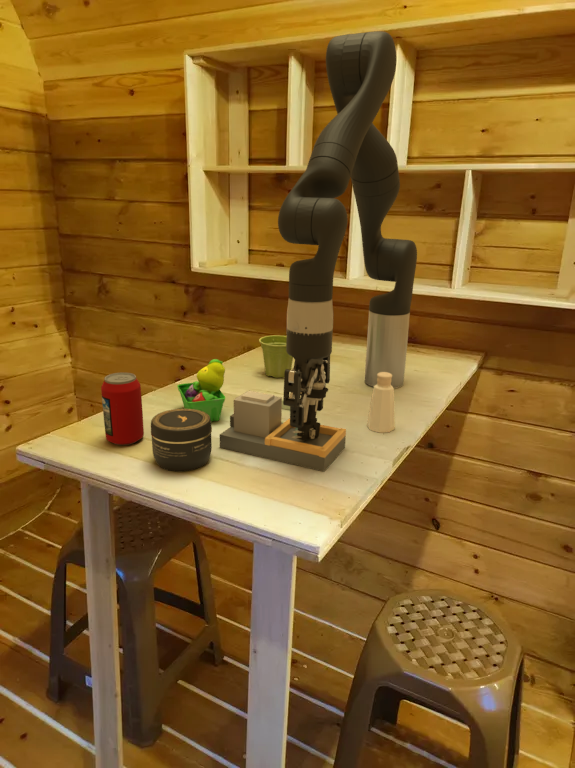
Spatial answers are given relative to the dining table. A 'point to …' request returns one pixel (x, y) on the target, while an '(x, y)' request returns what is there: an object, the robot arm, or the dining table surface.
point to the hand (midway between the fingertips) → (307, 417)
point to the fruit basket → (205, 390)
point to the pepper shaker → (382, 405)
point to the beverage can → (122, 408)
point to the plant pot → (275, 355)
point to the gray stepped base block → (278, 434)
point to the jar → (181, 439)
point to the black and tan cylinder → (311, 413)
